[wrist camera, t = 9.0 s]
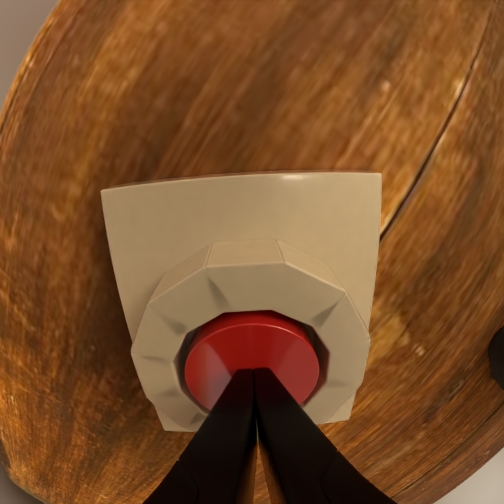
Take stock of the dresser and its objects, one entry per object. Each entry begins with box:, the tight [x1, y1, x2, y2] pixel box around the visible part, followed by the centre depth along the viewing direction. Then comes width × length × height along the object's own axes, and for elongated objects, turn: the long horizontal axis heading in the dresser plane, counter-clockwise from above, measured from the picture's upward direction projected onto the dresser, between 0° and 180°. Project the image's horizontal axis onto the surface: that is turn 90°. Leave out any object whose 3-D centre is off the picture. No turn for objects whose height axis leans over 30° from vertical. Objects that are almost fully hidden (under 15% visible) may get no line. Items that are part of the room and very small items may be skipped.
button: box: [185, 310, 319, 410], centre depth 8 cm, size 4×4×2 cm
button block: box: [101, 170, 382, 437], centre depth 9 cm, size 10×8×3 cm
